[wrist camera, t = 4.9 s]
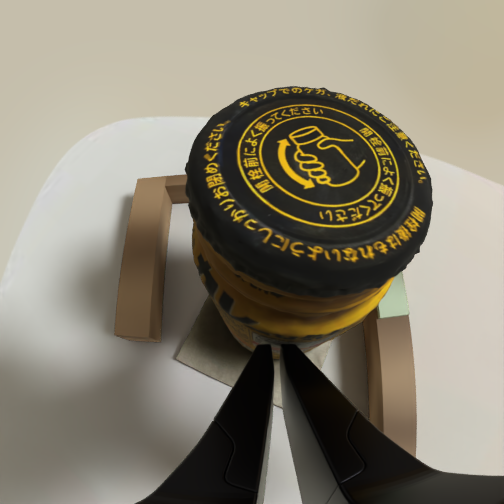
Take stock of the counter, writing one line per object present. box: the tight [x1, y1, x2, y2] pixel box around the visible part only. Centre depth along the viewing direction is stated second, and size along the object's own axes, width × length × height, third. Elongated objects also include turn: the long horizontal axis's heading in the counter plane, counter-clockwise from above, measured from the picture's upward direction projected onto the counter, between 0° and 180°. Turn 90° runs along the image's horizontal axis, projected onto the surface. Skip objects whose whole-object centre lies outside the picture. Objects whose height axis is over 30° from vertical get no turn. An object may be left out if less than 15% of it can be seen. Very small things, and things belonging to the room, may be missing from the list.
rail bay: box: [114, 175, 417, 458], centre depth 14 cm, size 19×16×2 cm
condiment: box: [176, 86, 433, 407], centre depth 10 cm, size 7×8×12 cm
